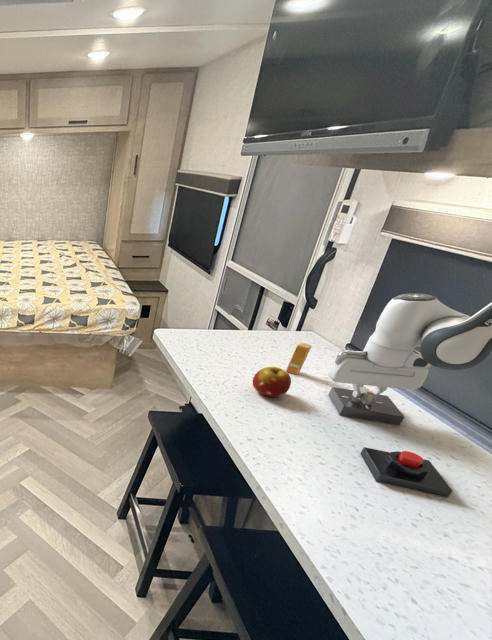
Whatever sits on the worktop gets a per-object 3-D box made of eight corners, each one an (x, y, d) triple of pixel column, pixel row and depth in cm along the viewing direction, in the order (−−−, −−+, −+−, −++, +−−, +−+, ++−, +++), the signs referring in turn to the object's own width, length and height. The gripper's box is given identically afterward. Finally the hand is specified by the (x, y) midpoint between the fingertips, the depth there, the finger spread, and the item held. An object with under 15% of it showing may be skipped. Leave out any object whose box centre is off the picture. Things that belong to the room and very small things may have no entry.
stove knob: (354, 395, 113) (359, 384, 112) (359, 395, 113) (365, 385, 111) (363, 404, 109) (369, 393, 108) (369, 405, 109) (375, 394, 107)
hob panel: (382, 404, 114) (388, 395, 113) (399, 426, 105) (405, 416, 104) (328, 395, 119) (332, 386, 117) (339, 415, 110) (344, 405, 109)
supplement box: (297, 375, 129) (308, 348, 124) (285, 371, 132) (296, 344, 127) (300, 372, 131) (312, 345, 126) (288, 368, 133) (299, 341, 129)
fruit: (265, 402, 116) (274, 379, 112) (242, 386, 123) (249, 364, 120) (293, 399, 117) (303, 375, 113) (268, 383, 125) (277, 361, 121)
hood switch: (424, 467, 92) (433, 454, 90) (447, 498, 84) (457, 484, 82) (359, 453, 96) (367, 440, 94) (375, 482, 88) (384, 468, 86)
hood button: (415, 459, 89) (419, 453, 88) (422, 469, 86) (427, 463, 85) (394, 455, 90) (398, 449, 89) (401, 465, 87) (405, 459, 87)
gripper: (346, 355, 104) (326, 399, 110) (441, 362, 99) (414, 408, 106) (334, 344, 109) (315, 387, 116) (423, 351, 105) (398, 395, 111)
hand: (363, 397), depth 111 cm, fingers closed
